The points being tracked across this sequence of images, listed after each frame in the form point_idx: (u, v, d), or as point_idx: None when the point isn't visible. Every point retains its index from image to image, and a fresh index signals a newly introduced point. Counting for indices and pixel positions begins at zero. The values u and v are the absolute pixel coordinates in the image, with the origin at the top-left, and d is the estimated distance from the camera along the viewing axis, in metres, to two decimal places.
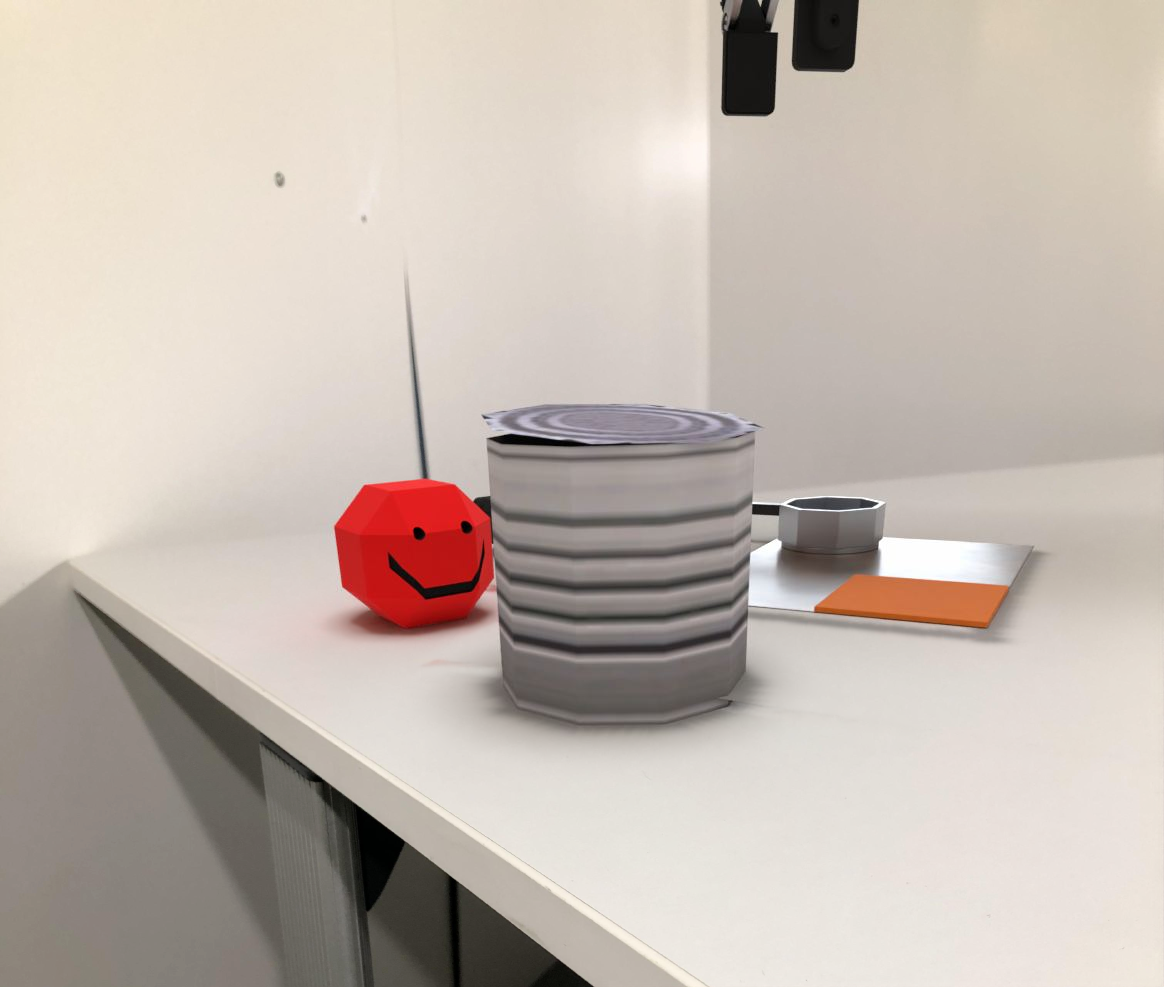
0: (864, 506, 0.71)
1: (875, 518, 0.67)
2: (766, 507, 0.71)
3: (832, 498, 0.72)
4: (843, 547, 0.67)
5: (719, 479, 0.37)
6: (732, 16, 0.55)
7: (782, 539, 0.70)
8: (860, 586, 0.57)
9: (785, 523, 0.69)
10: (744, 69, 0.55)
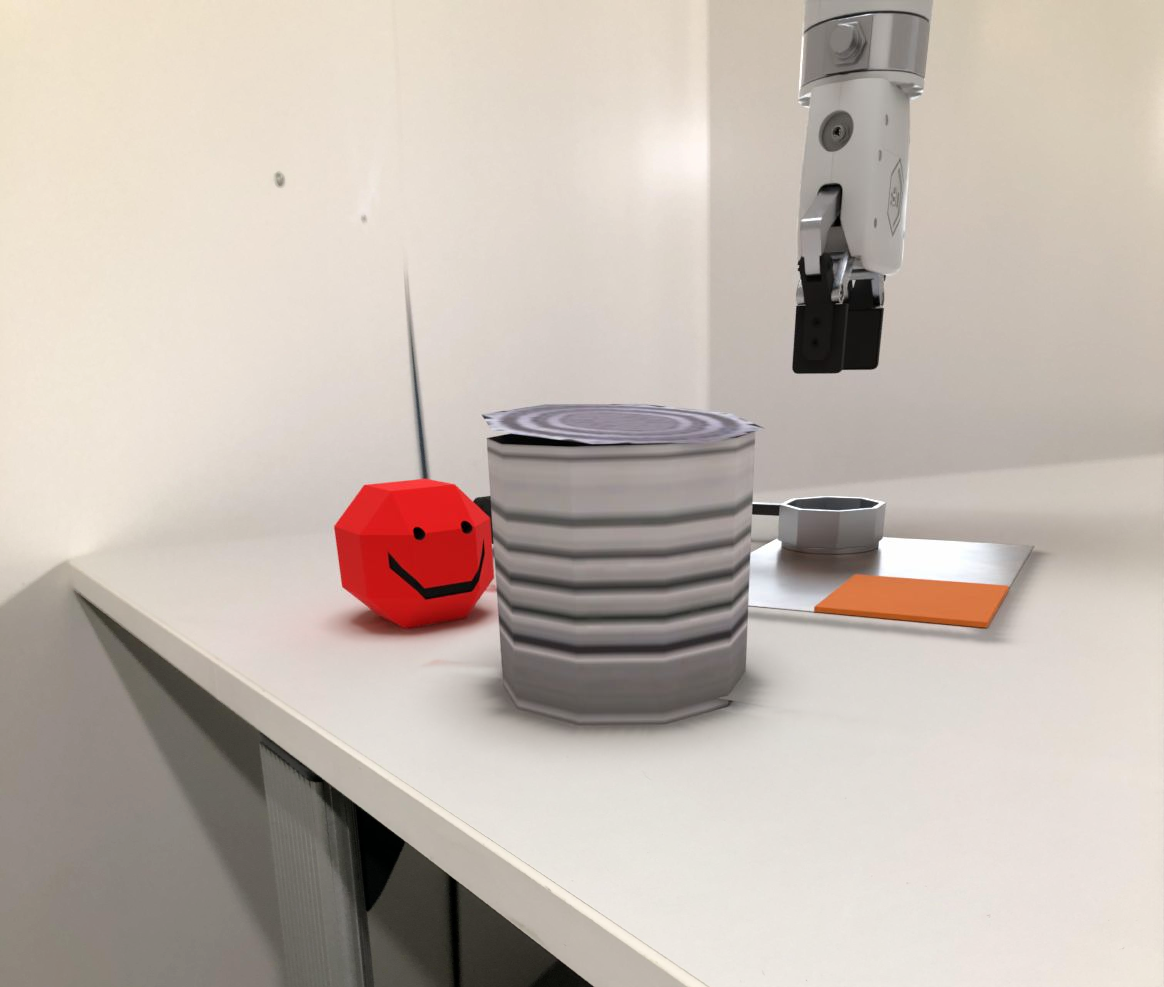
0: (864, 506, 0.71)
1: (875, 518, 0.67)
2: (766, 507, 0.71)
3: (832, 498, 0.72)
4: (843, 547, 0.67)
5: (719, 479, 0.37)
6: (843, 298, 0.68)
7: (782, 539, 0.70)
8: (860, 586, 0.57)
9: (785, 523, 0.69)
10: (849, 337, 0.68)
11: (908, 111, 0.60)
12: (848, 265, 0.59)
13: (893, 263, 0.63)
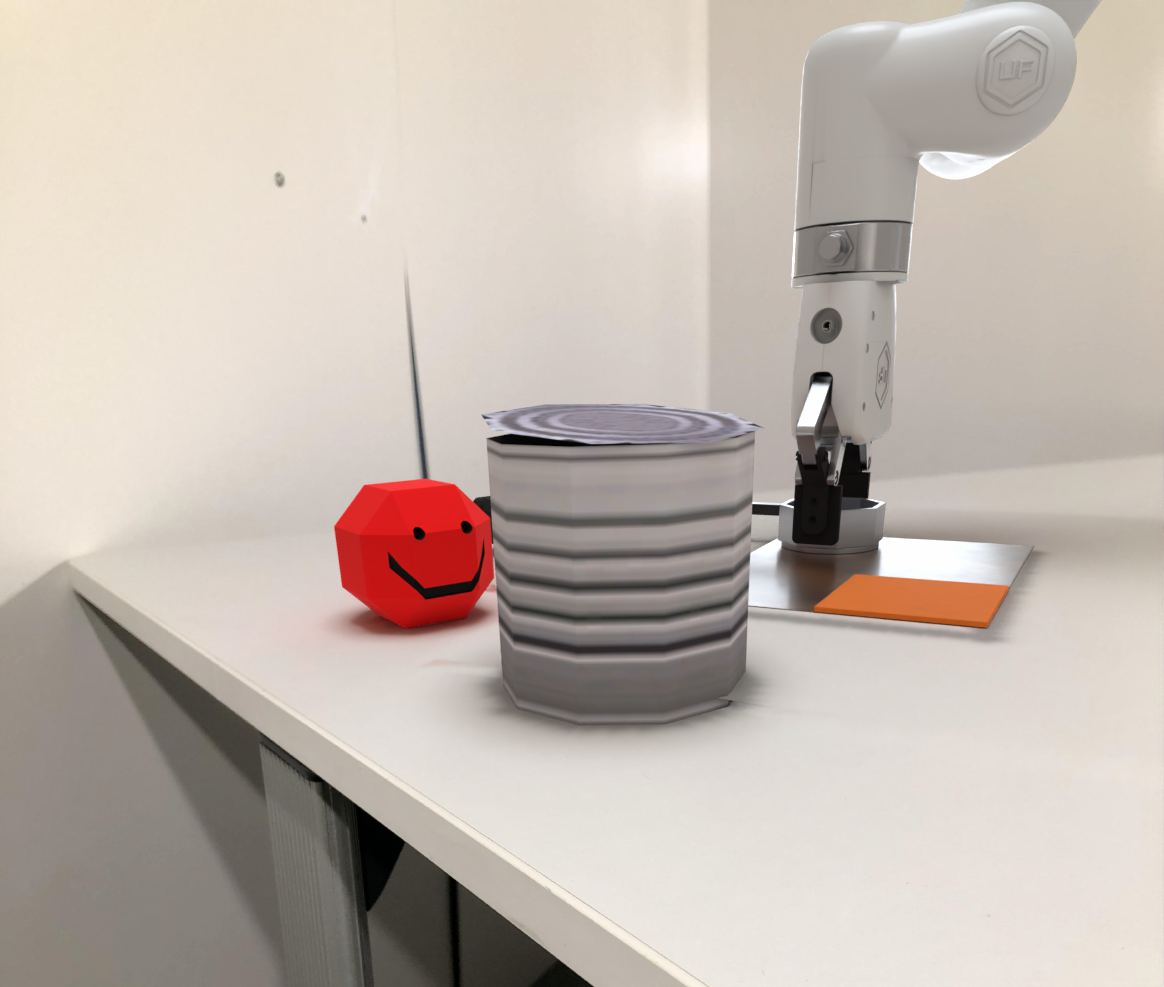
0: (864, 506, 0.71)
1: (875, 518, 0.67)
2: (766, 507, 0.71)
3: None
4: (843, 547, 0.67)
5: (719, 479, 0.37)
6: None
7: (782, 539, 0.70)
8: (860, 586, 0.57)
9: (785, 523, 0.69)
10: None
11: (894, 295, 0.64)
12: (841, 449, 0.64)
13: (882, 430, 0.67)
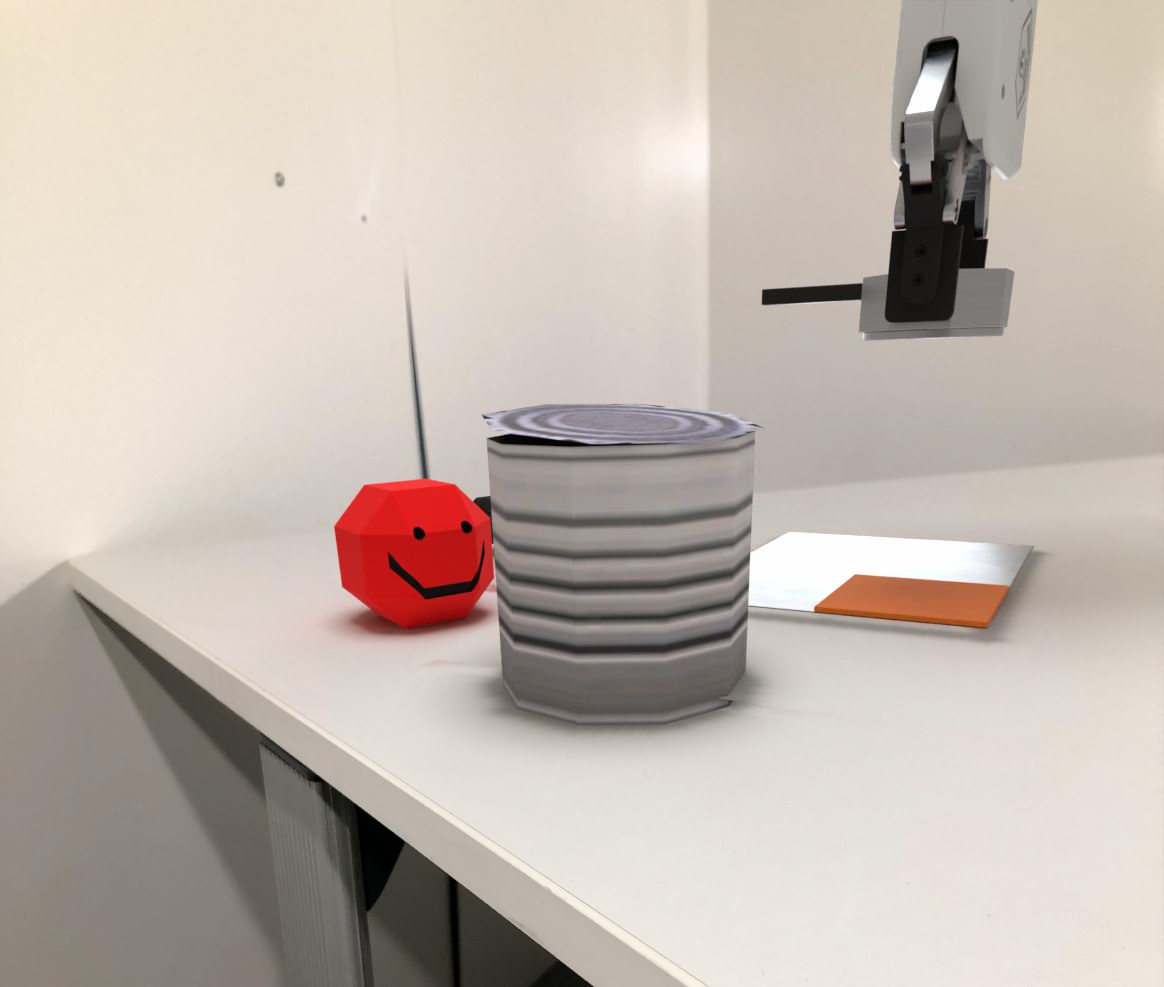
0: None
1: (1004, 284, 0.47)
2: (842, 289, 0.51)
3: None
4: (958, 326, 0.47)
5: (719, 479, 0.37)
6: None
7: (866, 328, 0.50)
8: (860, 586, 0.57)
9: (871, 302, 0.49)
10: None
11: None
12: (964, 168, 0.44)
13: (1015, 159, 0.47)
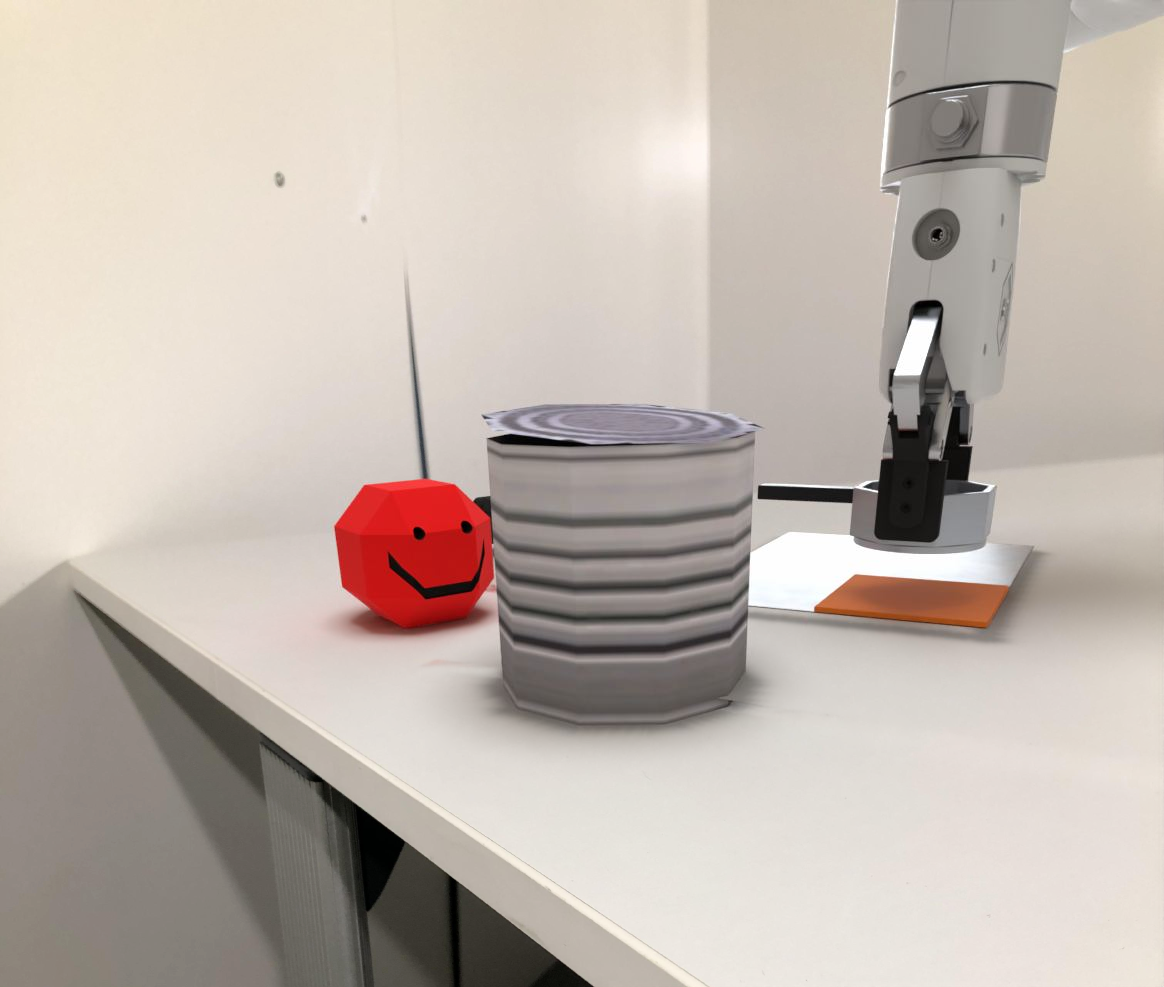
0: (964, 491, 0.53)
1: (987, 506, 0.50)
2: (834, 492, 0.54)
3: None
4: (943, 545, 0.50)
5: (719, 479, 0.37)
6: None
7: (856, 534, 0.53)
8: (860, 586, 0.57)
9: (862, 512, 0.52)
10: None
11: None
12: (948, 410, 0.47)
13: (997, 387, 0.50)
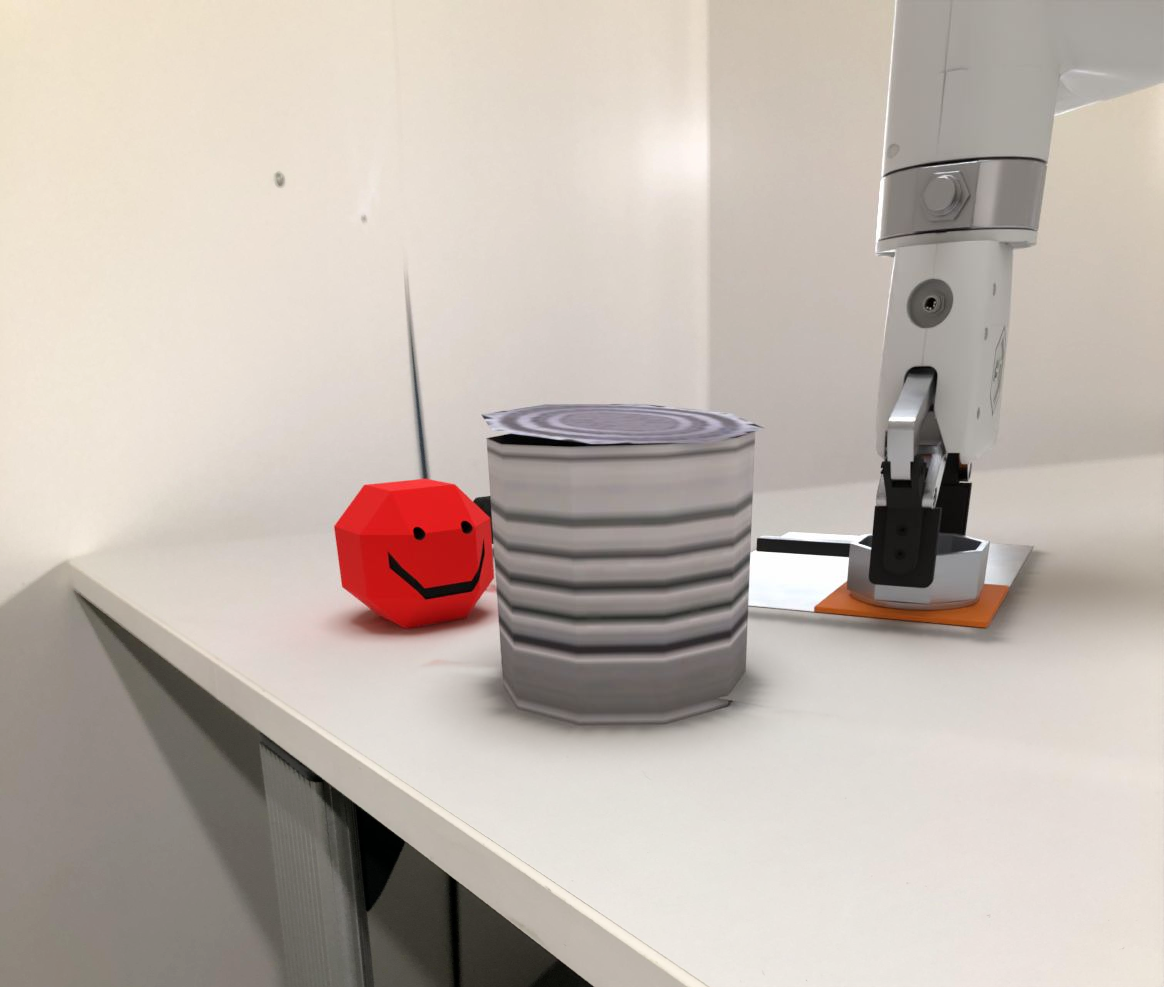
0: (958, 545, 0.55)
1: (980, 564, 0.51)
2: (831, 546, 0.55)
3: None
4: (938, 602, 0.51)
5: (719, 479, 0.37)
6: None
7: (853, 588, 0.54)
8: None
9: (858, 568, 0.53)
10: None
11: None
12: (942, 462, 0.47)
13: (991, 444, 0.51)
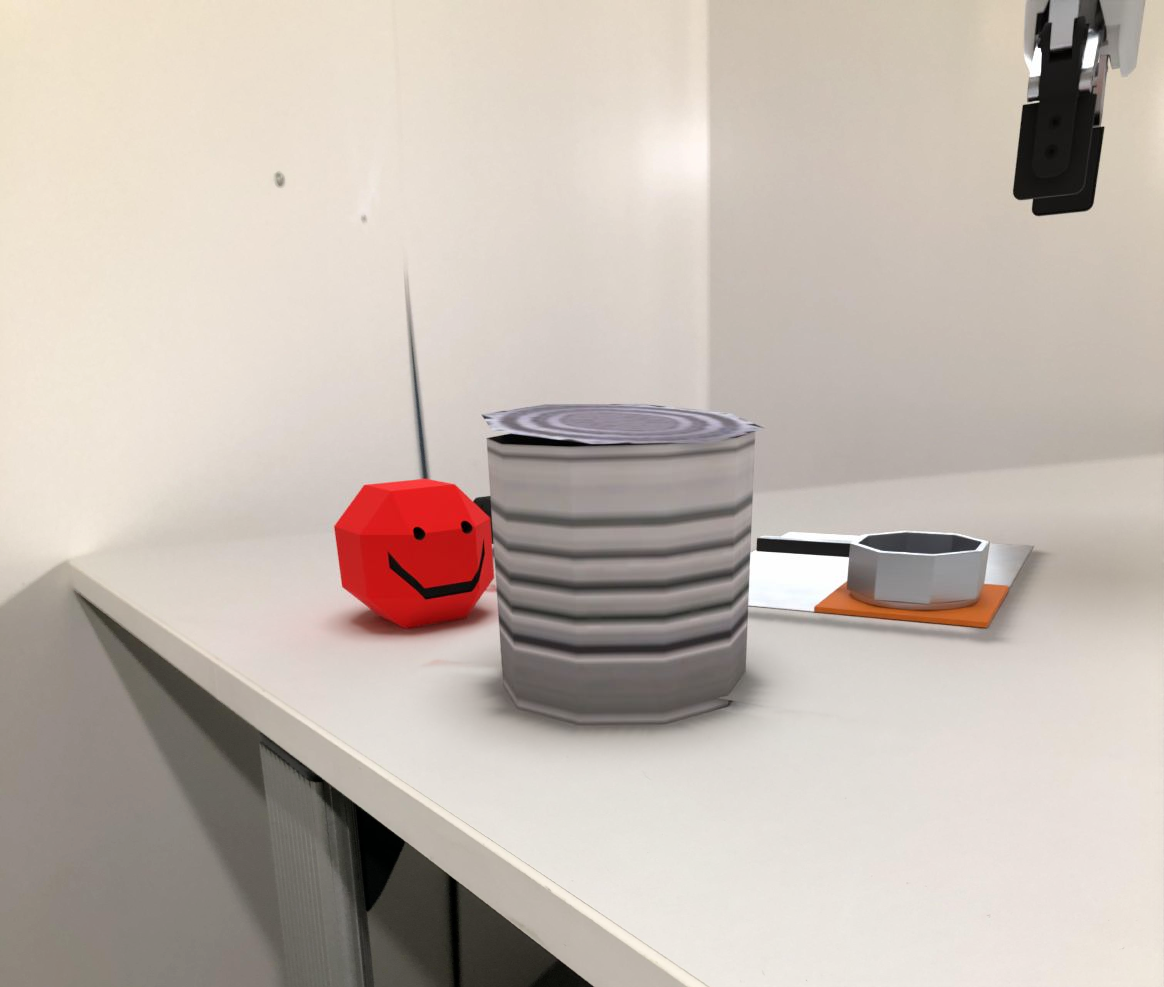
0: (958, 545, 0.55)
1: (980, 564, 0.51)
2: (831, 546, 0.55)
3: (915, 534, 0.56)
4: (938, 602, 0.51)
5: (719, 479, 0.37)
6: None
7: (853, 588, 0.54)
8: None
9: (858, 568, 0.53)
10: None
11: None
12: (1099, 41, 0.45)
13: (1137, 53, 0.48)
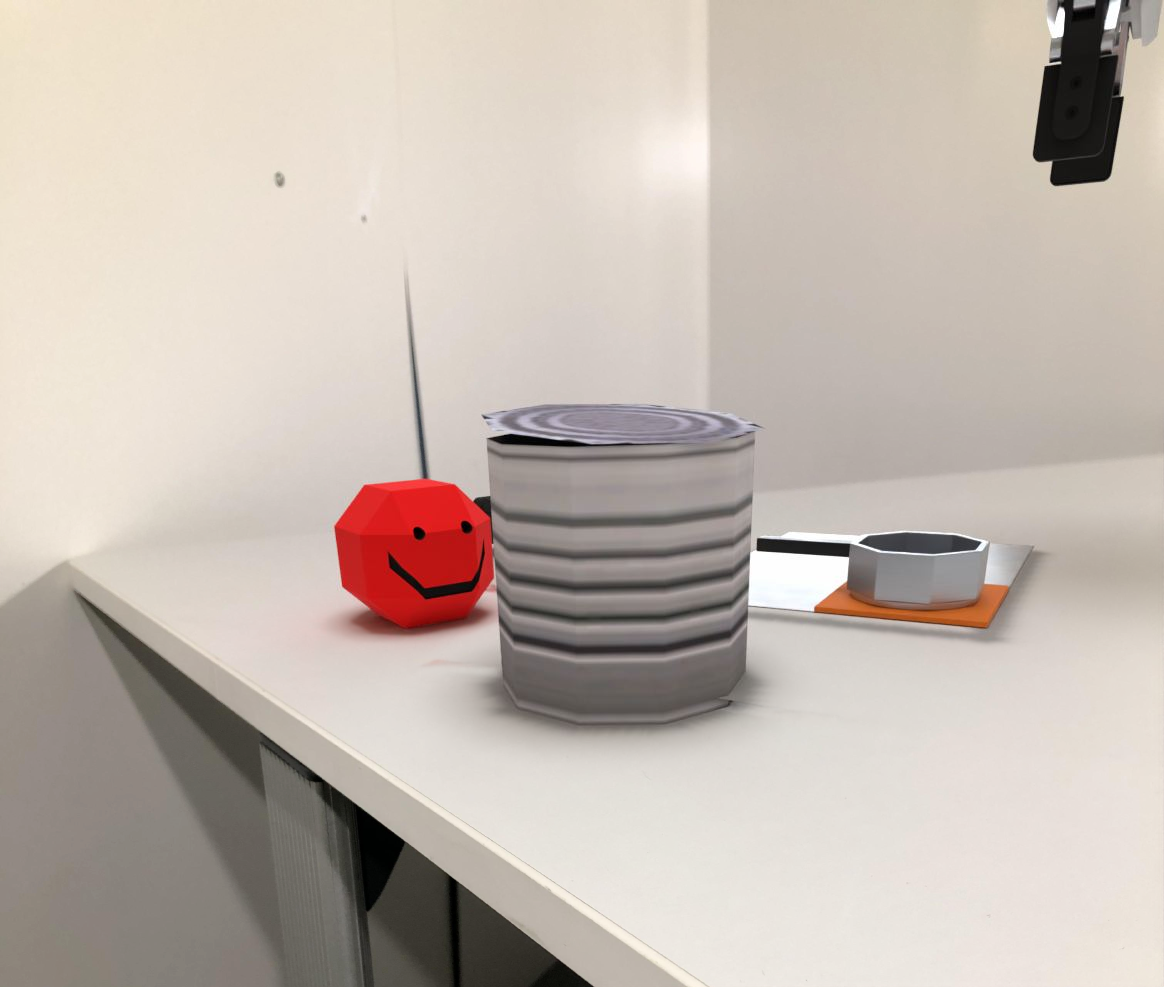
0: (958, 545, 0.55)
1: (980, 564, 0.51)
2: (831, 546, 0.55)
3: (915, 534, 0.56)
4: (938, 602, 0.51)
5: (719, 479, 0.37)
6: None
7: (853, 588, 0.54)
8: None
9: (858, 568, 0.53)
10: None
11: None
12: (1121, 3, 0.45)
13: (1158, 20, 0.49)
